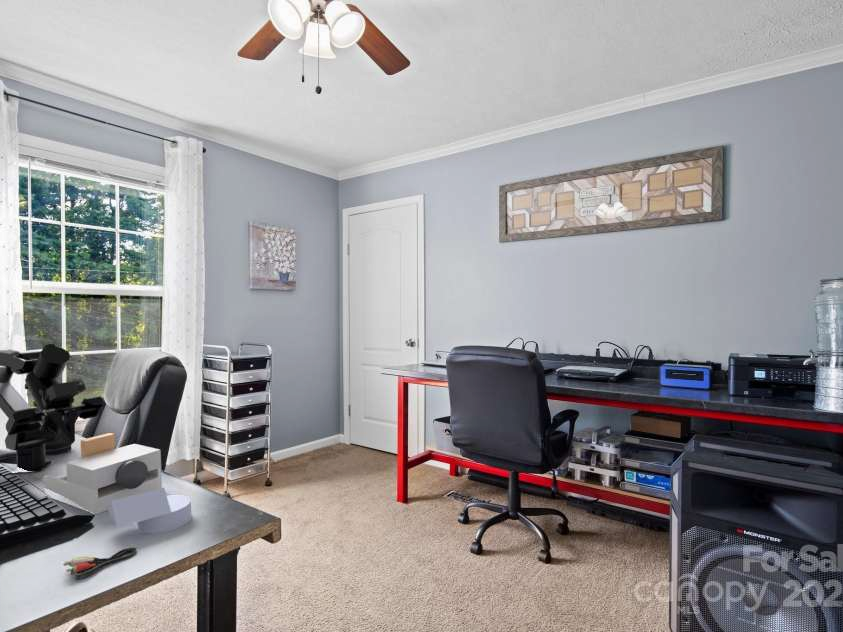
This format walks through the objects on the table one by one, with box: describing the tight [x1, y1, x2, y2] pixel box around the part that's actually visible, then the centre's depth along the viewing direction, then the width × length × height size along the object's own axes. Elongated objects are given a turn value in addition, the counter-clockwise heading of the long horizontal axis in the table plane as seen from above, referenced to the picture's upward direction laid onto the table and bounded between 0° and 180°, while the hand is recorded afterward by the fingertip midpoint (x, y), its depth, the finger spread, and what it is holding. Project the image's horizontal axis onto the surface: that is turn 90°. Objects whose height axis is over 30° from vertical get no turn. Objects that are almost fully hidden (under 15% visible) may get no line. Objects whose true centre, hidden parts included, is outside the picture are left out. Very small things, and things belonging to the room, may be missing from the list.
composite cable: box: [62, 547, 138, 581], centre depth 76 cm, size 10×5×2 cm, turn 130°
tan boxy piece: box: [80, 432, 117, 489], centre depth 104 cm, size 8×12×9 cm
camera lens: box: [37, 403, 73, 457], centre depth 134 cm, size 8×8×15 cm
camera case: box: [43, 443, 163, 516], centre depth 104 cm, size 22×14×9 cm, turn 61°
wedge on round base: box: [107, 487, 192, 534], centre depth 89 cm, size 9×7×13 cm
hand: (72, 442), depth 111 cm, fingers closed
